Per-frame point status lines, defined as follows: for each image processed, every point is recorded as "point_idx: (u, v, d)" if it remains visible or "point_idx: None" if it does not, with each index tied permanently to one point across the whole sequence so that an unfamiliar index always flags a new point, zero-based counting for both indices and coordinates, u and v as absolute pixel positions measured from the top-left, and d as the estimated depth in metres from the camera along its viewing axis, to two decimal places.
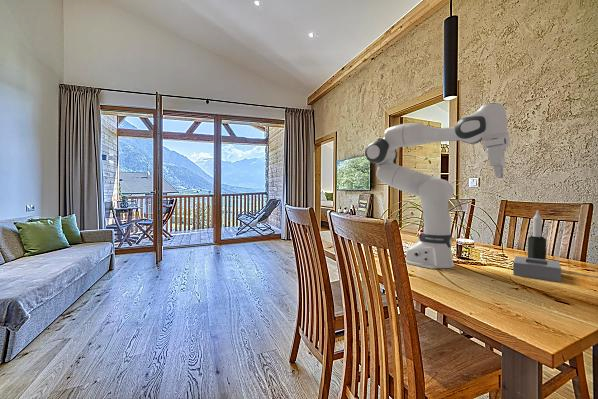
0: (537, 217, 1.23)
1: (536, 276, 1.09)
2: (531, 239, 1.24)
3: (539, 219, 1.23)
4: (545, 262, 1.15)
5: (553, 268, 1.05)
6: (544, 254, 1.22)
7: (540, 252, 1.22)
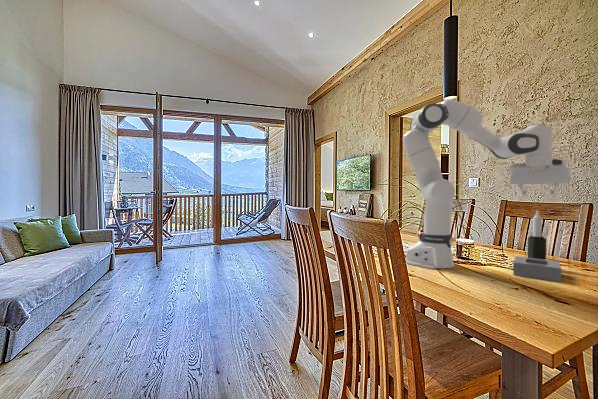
0: (537, 217, 1.23)
1: (536, 276, 1.09)
2: (531, 239, 1.24)
3: (539, 219, 1.23)
4: (545, 262, 1.15)
5: (553, 268, 1.05)
6: (544, 254, 1.22)
7: (540, 252, 1.22)
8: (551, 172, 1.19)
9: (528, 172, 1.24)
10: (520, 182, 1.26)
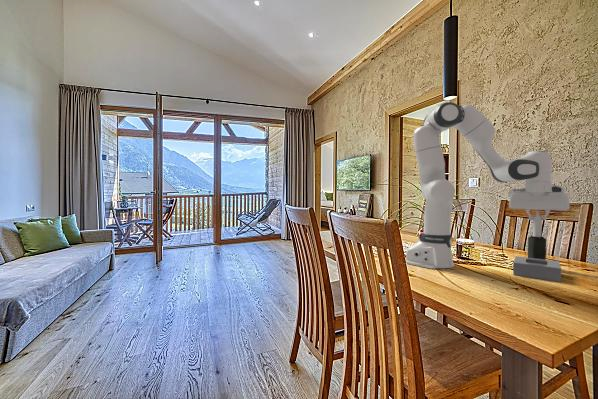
0: (537, 217, 1.23)
1: (536, 276, 1.09)
2: (531, 239, 1.24)
3: (539, 219, 1.23)
4: (545, 262, 1.15)
5: (553, 268, 1.05)
6: (544, 254, 1.22)
7: (540, 252, 1.22)
8: (551, 198, 1.20)
9: (527, 198, 1.25)
10: (520, 207, 1.26)
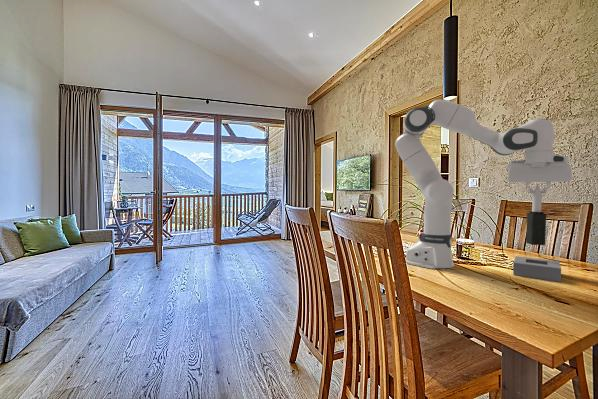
0: (537, 191, 1.16)
1: (536, 276, 1.09)
2: (530, 214, 1.17)
3: (539, 193, 1.15)
4: (545, 262, 1.15)
5: (553, 268, 1.05)
6: (544, 230, 1.15)
7: (540, 228, 1.15)
8: (552, 169, 1.12)
9: (527, 170, 1.17)
10: (519, 180, 1.19)
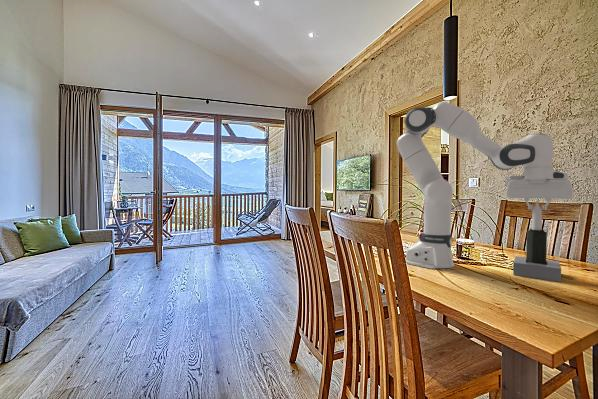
0: (537, 208, 1.12)
1: (536, 276, 1.09)
2: (530, 232, 1.13)
3: (539, 210, 1.12)
4: None
5: (553, 268, 1.05)
6: (544, 249, 1.11)
7: (540, 247, 1.11)
8: (552, 185, 1.09)
9: (526, 186, 1.14)
10: (518, 196, 1.16)
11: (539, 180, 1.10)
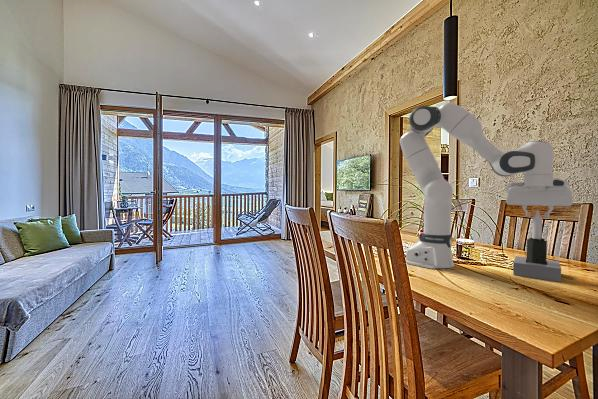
0: (537, 217, 1.12)
1: (536, 276, 1.09)
2: (530, 241, 1.13)
3: (539, 219, 1.12)
4: None
5: (553, 268, 1.05)
6: (544, 258, 1.11)
7: (540, 256, 1.11)
8: (552, 193, 1.09)
9: (526, 193, 1.14)
10: (518, 203, 1.16)
11: (539, 187, 1.10)
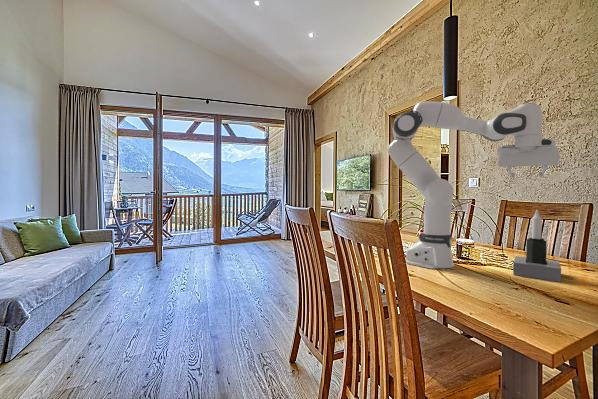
0: (536, 217, 1.12)
1: (536, 276, 1.09)
2: (530, 241, 1.13)
3: (539, 219, 1.12)
4: None
5: (553, 268, 1.05)
6: (544, 258, 1.11)
7: (540, 256, 1.11)
8: (541, 152, 1.14)
9: (516, 154, 1.19)
10: (508, 164, 1.21)
11: (528, 148, 1.15)
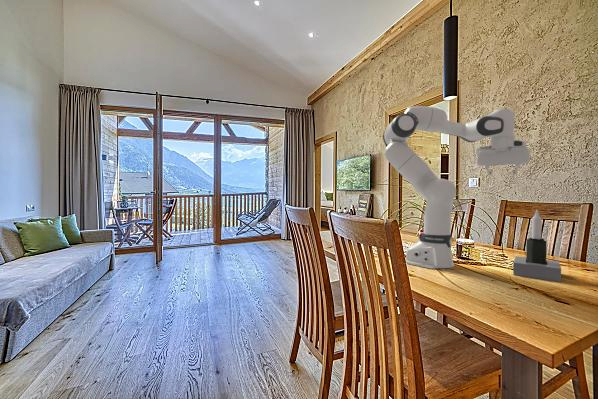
0: (536, 217, 1.12)
1: (536, 276, 1.09)
2: (530, 241, 1.13)
3: (539, 219, 1.12)
4: None
5: (553, 268, 1.05)
6: (544, 258, 1.11)
7: (540, 256, 1.11)
8: (513, 152, 1.28)
9: (493, 154, 1.33)
10: (486, 163, 1.35)
11: (503, 148, 1.29)
